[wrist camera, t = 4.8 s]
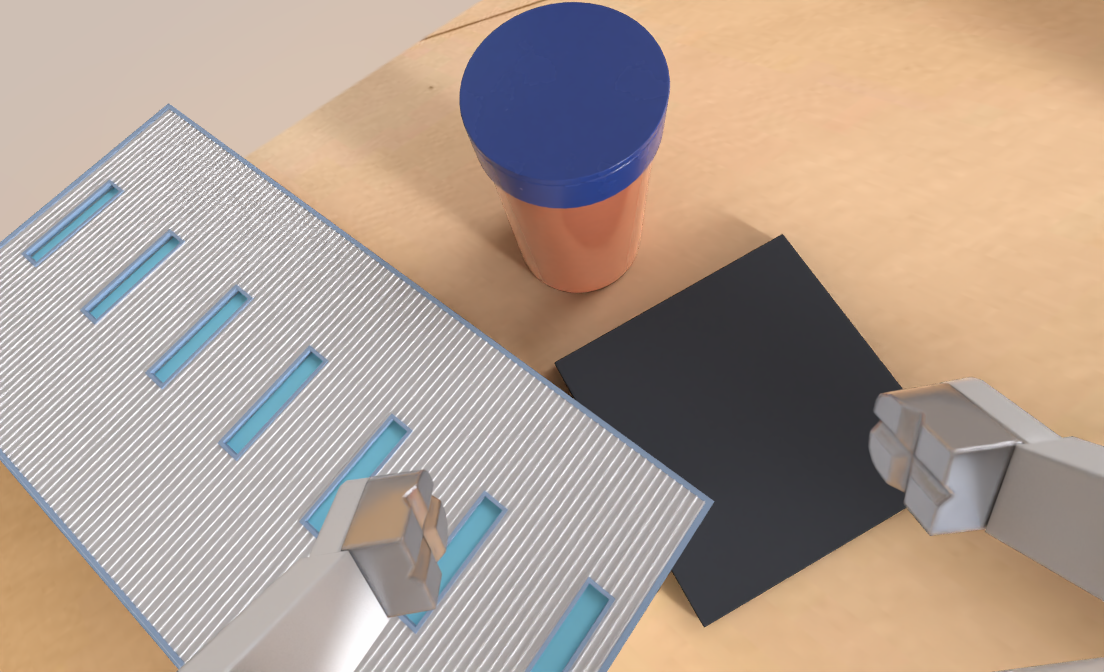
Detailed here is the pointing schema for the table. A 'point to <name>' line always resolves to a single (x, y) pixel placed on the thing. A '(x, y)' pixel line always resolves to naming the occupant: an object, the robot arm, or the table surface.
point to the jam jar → (580, 237)
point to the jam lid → (566, 103)
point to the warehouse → (303, 420)
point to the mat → (749, 419)
